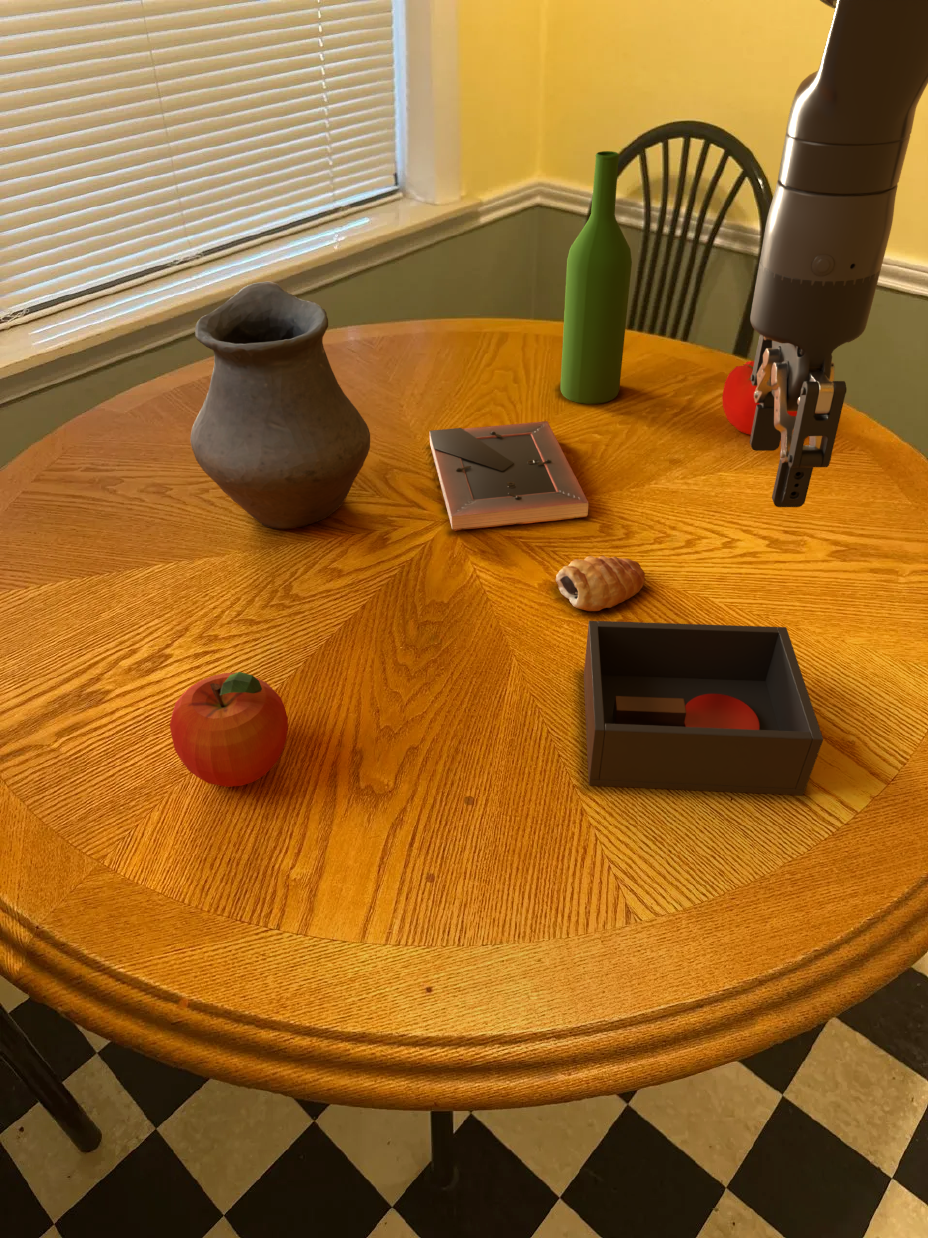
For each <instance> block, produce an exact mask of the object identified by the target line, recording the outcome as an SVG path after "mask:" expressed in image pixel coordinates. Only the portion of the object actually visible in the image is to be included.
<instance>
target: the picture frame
mask: <svg viewBox="0 0 928 1238" xmlns="http://www.w3.org/2000/svg"><path fill="white" fill-rule="evenodd" d="M429 445H430V448H431V453H432V457H433V461H434V465H435V469H436V472H437V476H438V480H439V483H440V488H441V492H442V496H443V500H444V505H445V507H446V510H447V516H448V518H449V519H448V520H449V524H450V526H451V530H453V531H461V530H472V529H482V528H483V529H484V528H493V527H502V526H511V525H523V524H525V525H526V524H533V523H543V522H554V521H561V520H572V519H578V518H587V517H588V515H589V503H590V502H589V500H588V499H587V497H586V494H585V493H584V490H583V489H582V487H581V485H580V482H579V481H578V479H577V477H576V475H575V473H574V471H573V469H572V467H571V464H570V463H569V460H568V459H567V457H566V455H565V453H564V451H563V449H562V447H561V445H560V443H559V441H558V440H557V437H556V436H555V434H554V432H553V429H552V428H551V426H550V423H549V422H548V420H545V421H535V422H522V423H513V424H501V425H500V424H499V425H490V426H489V425H488V426H478V427H468V428H462V427H455V428H444V429H433V430H432V429H431V430H429Z"/></svg>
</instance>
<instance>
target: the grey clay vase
mask: <svg viewBox="0 0 928 1238" xmlns="http://www.w3.org/2000/svg"><path fill="white" fill-rule="evenodd" d="M328 328H329V317H328V314H327V311H326V310H325V309H324V308H323V307H322V306H320V305H319V304H318V303H317V302H314V301H311V300H305V299H301V298H299V297H298V296H295V295H294V294H292V293H290V292H288V291H285V290H284V289H283V288H282V287H281V285H279V284H278V283H275V282H272V281H259V282H254V283H250V284H247V285H245V286H243V287H242V288H240V289H239V290H238V291H237V292H235V294H234V295H232V296H231V297H230V298H229V299H227V300H226V301H225V302H224V303H222V304H221V305H219V306H218V307H217V308H215V309H214V310H212V311H210V312H209V313H207V314H205V315H203V316H200V318H199V319H198V320H197V322H196V324H195V328H194V334H195V335H194V336H195V338H196V340H197V341H198V342H199V343H201V344H202V345H203V346H204V347H206V348H207V349H210V350H212V351H213V369H212V373H211V377H210V382H209V386H208V391H207V393H206V396H205V398H204V401H203V403H202V406H201V408H200V410H199V412H198V414H197V416H196V418H195V420H194V422H193V425H192V427H191V432H190V439H189V440H190V446H191V449H192V452H193V455H194V458H195V461H196V462H197V464H198V465H199V467H200V468H201V469H202V471H203V472H204V473H205V474H206V475H207V476H208V477H209V478H210V479H211V480H212V481H213V482H214V483H215V484H216V485H217V486H218V487H219V488H220V490H222V491H223V493H224V494H225V495H227V496H228V497H229V498H230V499H231V500H232V501H233V502H234V503H235V504H236V505H238V506H239V507H241V509H243V510H244V511H245V512H246V513H247V514H249V515H250V516H251V517H252V518H253V519H255V520H256V521H257V522H259V523H260V524H261V525H262V526H264V527H267V528H270V529H274V530H289V529H296V528H302V527H306V526H308V525H311V524H315V523H318V522H321V521H322V520H325V519H326V518H328V517H329V516H331V515H332V514H334V513H335V512H336V511H337V510H338V509H339V508H340V507H342V505H343V504H344V502H345V500H346V499H347V497H348V495H349V493H350V491H351V488H352V486H353V484H354V481H355V480H356V478H357V476H358V475H359V472H360V471H361V470H362V468H363V467H364V464H365V461H366V459H367V457H368V455H369V452H370V448H371V432H370V428H369V426H368V424H367V422H366V421H365V419H364V417H363V416H362V415H361V414H360V412H359V411H358V409H357V407H356V406H355V405H354V404H353V402H352V401H351V400H350V399H349V397H348V396H347V394H345V392H344V391H343V389H342V387H341V385H340V384H339V382H338V380H337V378H336V376H335V372H334V371H333V369H332V367H331V364H330V361H329V359H328V355H327V352H326V350H325V347H324V342H323V340H324V336H325V333H326V332H327V331H328Z"/></svg>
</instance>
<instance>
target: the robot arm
mask: <svg viewBox="0 0 928 1238" xmlns="http://www.w3.org/2000/svg"><path fill="white" fill-rule="evenodd" d="M819 1H820V2H821V3H822V4H824V5H826V6H827V7H829V8H831V9H834V12H833V15H832V20H831V24H830V27H829V31H828V34H827V38H826V42H825V45H824V48H823V52H822V56H821V58H820V59H821V60H820V63H819V66H818V69H817V70H816V71H814V72H812V73H811V74H809V75H808V76H806V77H805V78H804V79H803V80H802V81H801V82H800V84H799V85H798V87H797V89H796V90H795V93H794V95H793V99H792V102H791V106H790V109H789V113H788V118H787V123H786V128H785V134H784V140H783V146H782V151H781V158H780V163H779V170H778V174H777V175H778V176H777V181H776V185H775V190H774V193H773V197H772V200H771V203H770V207H769V210H768V213H767V217H766V222H765V228H764V233H763V238H762V245H761V252H760V257H759V263H758V268H757V269H758V270H757V274H756V281H755V287H754V292H753V297H752V304H751V310H750V316H749V321H750V324H751V326H752V328H753V330H754V331H755V332H756V333H758V334H759V335H758V342H757V347H756V352H755V356H754V360H753V361H754V367H753V372H752V375H751V382H752V386H757V387H756V390H755V392H754V398H755V403H759V405H756V410H755V416H754V421H753V426H752V432H751V435H750V438H749V445H750V447H751V449H752V450H753V451H755V452H774V451H776V450H778V449H779V447H780V452H779V462H778V466H777V471H776V475H775V481H774V484H773V490H772V494H771V500H772V502H773V504H774V506H775V507H776V508H800V507H802V506H803V505H804V504H805V503H806V500H807V495H808V491H809V487H810V483H811V479H812V475H813V470H814V468H815V469H816V468H817V469H818V468H828V467H829V466H830V463H831V461H832V460H831V459H832V455H833V450H834V445H835V441H836V437H837V432H838V428H839V424H840V420H841V416H842V411H843V406H844V402H845V398H846V394H847V383H846V381H845V380H835V362H834V361H833V353H834V351H835V350H836V349H837V348H838V347H841V346H843V345H844V344H846V343H851V342H853V341H855V340H857V339H858V338H859V337H860V336H861V335H863V334H864V332H865V330H866V329H867V325H868V321H869V317H870V313H871V309H872V305H873V302H874V298H875V294H876V290H877V285H878V282H879V279H880V274H881V270H882V267H883V263H884V260H885V254H886V252H887V251H886V250H887V248H888V243H889V240H890V235H891V231H892V226H893V221H894V215H895V204H896V197H897V191H898V186H899V182H900V178H901V175H902V171H903V166H904V162H905V158H906V156H907V151H908V147H909V143H910V139H911V134H912V130H913V125H914V121H915V116H916V111H917V107H918V104H919V102H920V100H921V98H922V96H923V94H924V92H925V90H926V89H927V86H928V0H819ZM787 411H797V416H791V415H789V414H788V413H787ZM807 438H809V439H808V440H809V442H808V443H809V444H805V441H806V439H807Z"/></svg>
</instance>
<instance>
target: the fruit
mask: <svg viewBox="0 0 928 1238" xmlns="http://www.w3.org/2000/svg"><path fill="white" fill-rule="evenodd" d="M169 729H170V734H171V740H172V744H173V748H174V751H175V753H176V754H177V756H178V758H179V759H180V761H181V762H182V764H183V765H184V766H185V768H186V769H187V771H188V772H190V773H191V774H193V776H195V777H197V778H198V779H200V780H202V781H203V782H205V783H206V784H210V785H215V786H220V787H226V788H227V787H228V788H229V787H230V788H231V787H242V786H245V785H248V784H252V783H254V782H256V781H257V780H259V779H261V778H263V777H264V776H266V775H267V773H268V772H270V771H271V769H273V767H274V766H275V765H276V764H277V763H278V761H279V759H280V757H281V756H282V754H283V752H284V749H285V746H286V742H287V738H288V733H289V718H288V715H287V709H286V707H285V704H284V701H283V699H282V697H281V696H280V695H279V694H278V693H277V692H276V690H274V689H273V687H271V686H270V684H269V683H268V682H267V681H264V680H262V679H260V678H258V677H256V676H254V675H253V674H250V673H246V672H242V671H238V672H237V671H236V672H223V673H218V674H215V675H214V674H213V675H211V676H208V677H205V678H203V679H200V680H199V681H197V682H196V683H194V684H192V685H191V686H189V687H188V688H187V689H186V690H185V691H184V692H183V693H182V694H181V695H180V696H179V698H178V699H177V700H176V702H174V706H173V709H172V714H171V718H170V723H169Z"/></svg>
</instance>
